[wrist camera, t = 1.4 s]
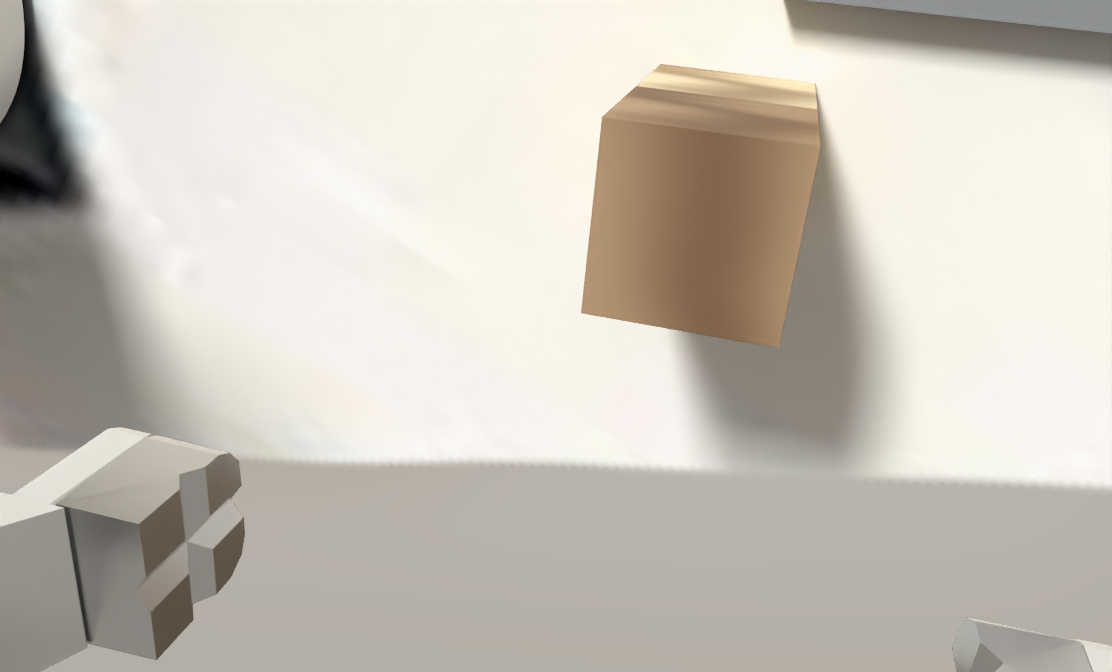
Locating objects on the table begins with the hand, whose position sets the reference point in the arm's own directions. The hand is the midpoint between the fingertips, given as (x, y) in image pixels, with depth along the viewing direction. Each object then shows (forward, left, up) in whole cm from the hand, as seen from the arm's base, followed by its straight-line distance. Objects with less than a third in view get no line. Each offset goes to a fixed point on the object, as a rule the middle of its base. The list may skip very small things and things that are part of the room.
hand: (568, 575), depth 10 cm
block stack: (0, 0, -23) cm, 23 cm away
